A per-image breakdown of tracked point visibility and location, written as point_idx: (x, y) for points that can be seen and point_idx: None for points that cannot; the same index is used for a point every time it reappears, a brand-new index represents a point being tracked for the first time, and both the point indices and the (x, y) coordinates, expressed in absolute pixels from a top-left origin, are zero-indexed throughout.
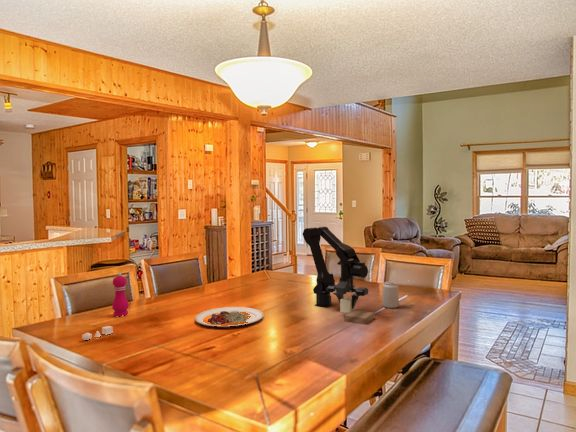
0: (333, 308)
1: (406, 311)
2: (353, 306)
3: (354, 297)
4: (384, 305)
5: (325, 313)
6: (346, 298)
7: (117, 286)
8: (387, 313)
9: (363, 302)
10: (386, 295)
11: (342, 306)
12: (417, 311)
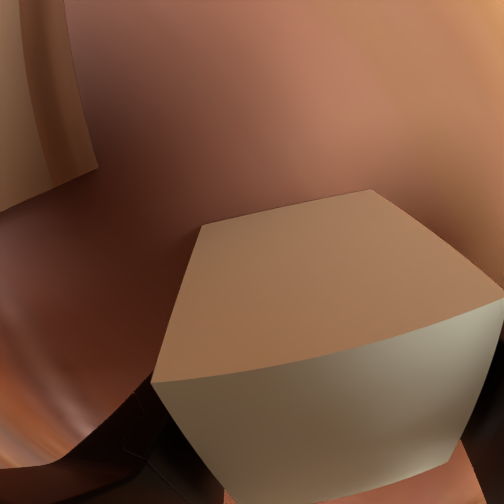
0: (495, 274)
1: (21, 461)
2: None
3: (16, 475)
4: None
5: (471, 21)
6: (382, 448)
7: None
8: (13, 409)
9: (328, 500)
10: None
11: (368, 231)
12: (9, 467)
